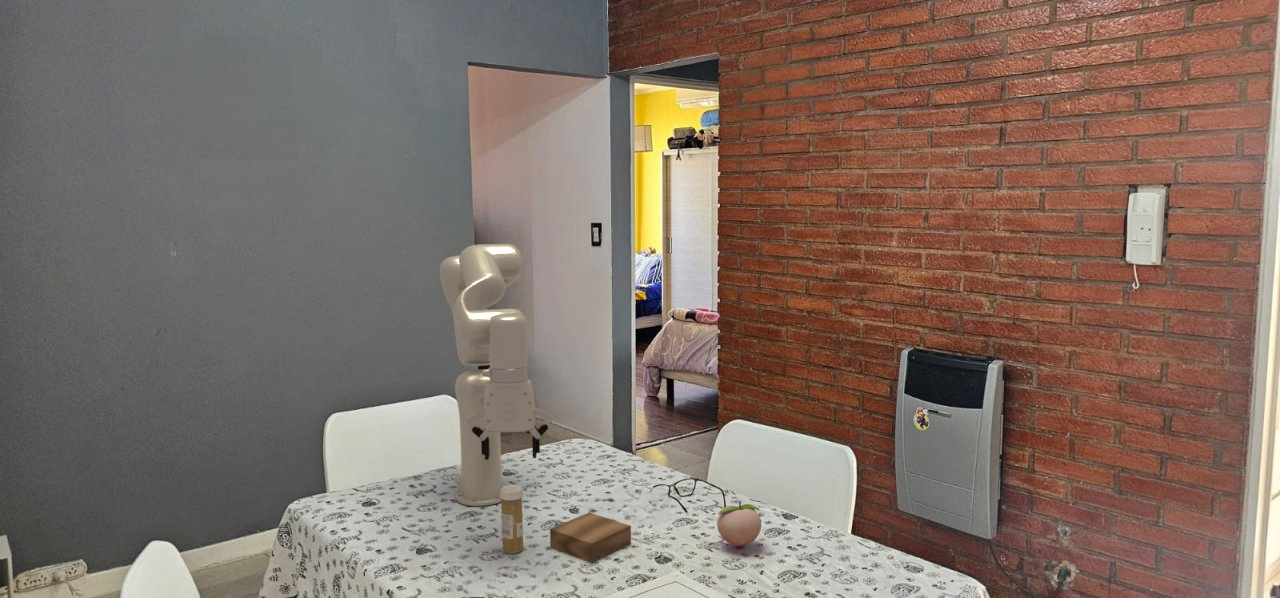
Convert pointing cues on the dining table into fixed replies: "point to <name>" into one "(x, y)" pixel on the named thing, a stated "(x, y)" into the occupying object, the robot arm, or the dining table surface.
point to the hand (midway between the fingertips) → (511, 457)
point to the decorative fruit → (739, 524)
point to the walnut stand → (590, 537)
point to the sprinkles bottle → (512, 519)
